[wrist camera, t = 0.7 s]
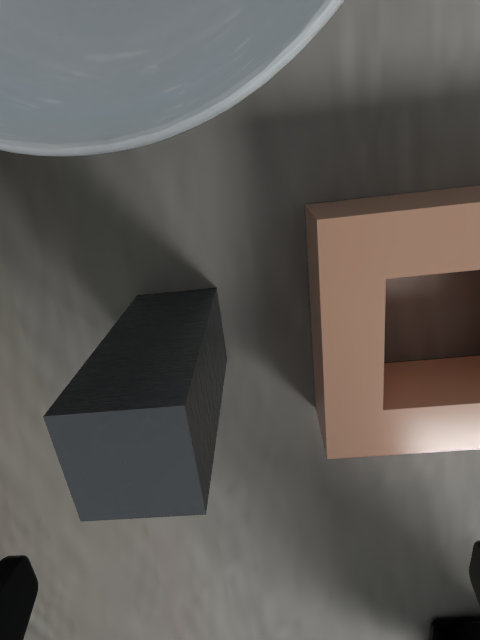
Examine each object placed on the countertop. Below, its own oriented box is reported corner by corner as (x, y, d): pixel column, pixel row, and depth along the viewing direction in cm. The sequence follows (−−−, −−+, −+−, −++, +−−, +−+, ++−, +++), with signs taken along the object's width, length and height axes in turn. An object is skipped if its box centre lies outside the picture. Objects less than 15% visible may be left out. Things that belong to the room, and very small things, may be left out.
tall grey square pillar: (226, 359, 22) (205, 514, 13) (152, 365, 22) (80, 521, 13) (216, 287, 20) (184, 405, 11) (137, 295, 21) (43, 416, 12)
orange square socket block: (524, 393, 22) (577, 443, 18) (315, 408, 23) (327, 459, 19) (562, 175, 18) (641, 184, 14) (304, 204, 19) (316, 219, 15)
